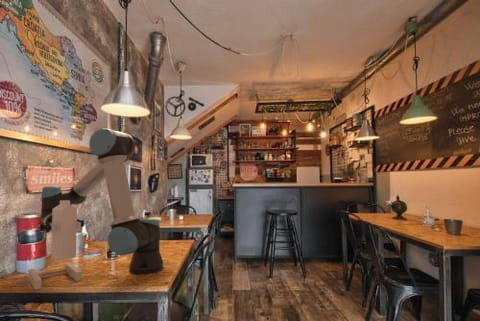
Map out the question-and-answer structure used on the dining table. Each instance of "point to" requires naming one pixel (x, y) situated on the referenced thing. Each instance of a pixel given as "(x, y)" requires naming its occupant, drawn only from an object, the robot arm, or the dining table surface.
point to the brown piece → (37, 279)
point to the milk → (64, 231)
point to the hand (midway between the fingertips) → (67, 227)
